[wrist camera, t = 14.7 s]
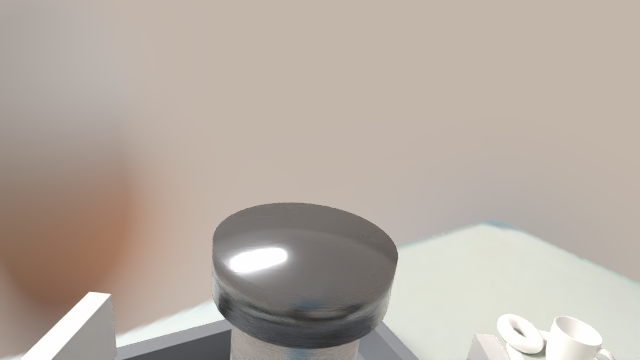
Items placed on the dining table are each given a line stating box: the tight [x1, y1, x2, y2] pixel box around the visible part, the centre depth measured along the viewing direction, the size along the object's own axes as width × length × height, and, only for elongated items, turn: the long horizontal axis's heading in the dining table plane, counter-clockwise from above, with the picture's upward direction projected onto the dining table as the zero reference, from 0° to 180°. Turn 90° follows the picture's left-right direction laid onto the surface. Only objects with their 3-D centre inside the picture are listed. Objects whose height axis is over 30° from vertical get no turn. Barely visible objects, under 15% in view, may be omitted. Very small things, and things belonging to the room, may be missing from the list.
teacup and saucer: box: [498, 314, 615, 360], centre depth 28 cm, size 9×8×4 cm
